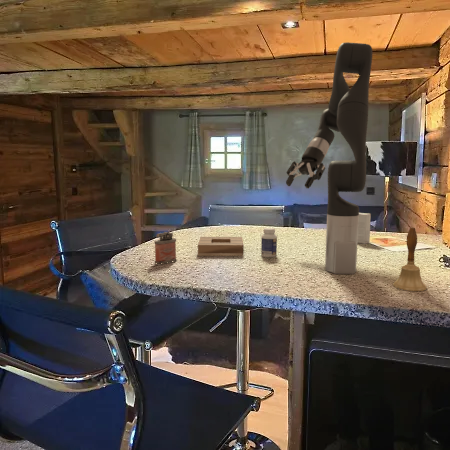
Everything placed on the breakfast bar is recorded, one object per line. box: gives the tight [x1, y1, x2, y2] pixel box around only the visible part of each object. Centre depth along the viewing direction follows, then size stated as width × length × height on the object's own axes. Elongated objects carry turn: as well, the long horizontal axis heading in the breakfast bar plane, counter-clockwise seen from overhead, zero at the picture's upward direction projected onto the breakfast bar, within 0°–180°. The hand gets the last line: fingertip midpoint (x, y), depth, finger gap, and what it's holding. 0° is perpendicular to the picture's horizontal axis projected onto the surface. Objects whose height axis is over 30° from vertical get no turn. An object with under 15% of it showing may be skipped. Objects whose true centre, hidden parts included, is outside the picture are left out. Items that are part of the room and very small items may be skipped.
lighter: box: [153, 231, 177, 265], centre depth 140 cm, size 8×3×10 cm, turn 134°
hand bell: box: [392, 227, 428, 292], centre depth 113 cm, size 8×8×16 cm
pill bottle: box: [260, 227, 278, 258], centre depth 150 cm, size 5×5×10 cm
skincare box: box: [357, 212, 372, 245], centre depth 175 cm, size 6×4×12 cm
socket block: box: [197, 236, 245, 257], centre depth 158 cm, size 16×16×4 cm
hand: (296, 186), depth 158 cm, fingers open, 8 cm apart
